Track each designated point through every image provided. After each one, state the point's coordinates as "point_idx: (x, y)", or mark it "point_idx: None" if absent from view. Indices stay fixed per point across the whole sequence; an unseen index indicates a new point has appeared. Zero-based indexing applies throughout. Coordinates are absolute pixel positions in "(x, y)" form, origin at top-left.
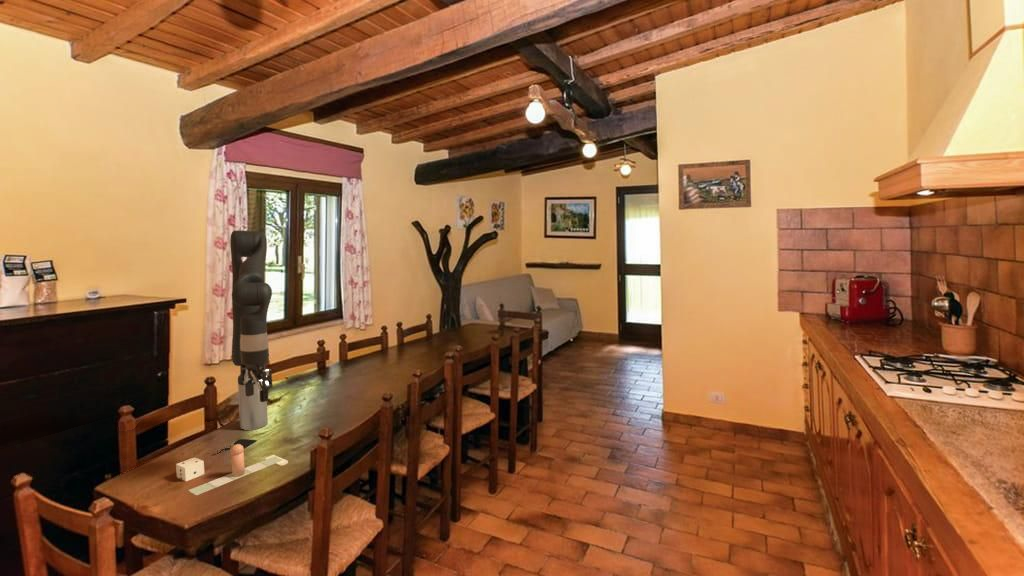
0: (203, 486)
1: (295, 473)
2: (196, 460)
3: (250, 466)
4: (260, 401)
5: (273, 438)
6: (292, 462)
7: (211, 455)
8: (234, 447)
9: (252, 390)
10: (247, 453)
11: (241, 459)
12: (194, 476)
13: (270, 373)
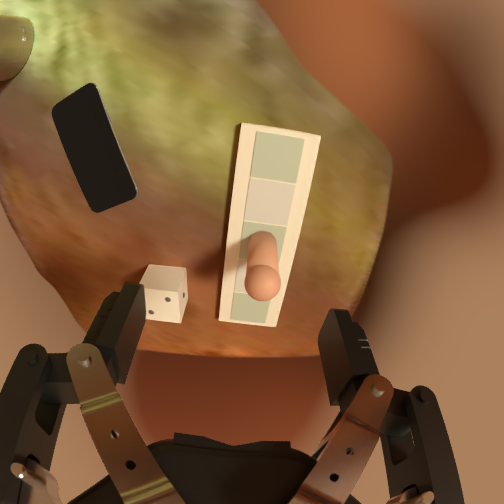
0: (243, 302)
1: (382, 173)
2: (160, 295)
3: (250, 204)
4: (320, 340)
5: (117, 43)
6: (327, 126)
7: (88, 201)
8: (266, 300)
9: (132, 312)
10: (146, 143)
11: (278, 266)
12: (185, 291)
13: (455, 493)
